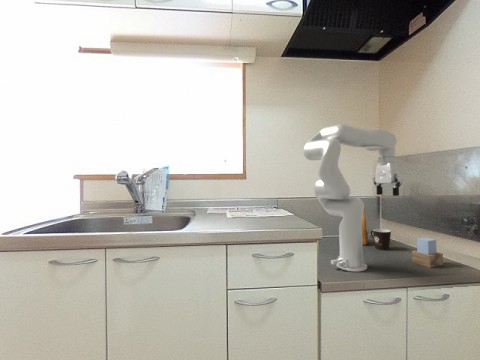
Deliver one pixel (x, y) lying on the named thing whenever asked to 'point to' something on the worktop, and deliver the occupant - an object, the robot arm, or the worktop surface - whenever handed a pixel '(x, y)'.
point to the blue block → (426, 245)
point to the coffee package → (364, 230)
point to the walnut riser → (427, 259)
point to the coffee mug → (381, 238)
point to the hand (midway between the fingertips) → (387, 195)
